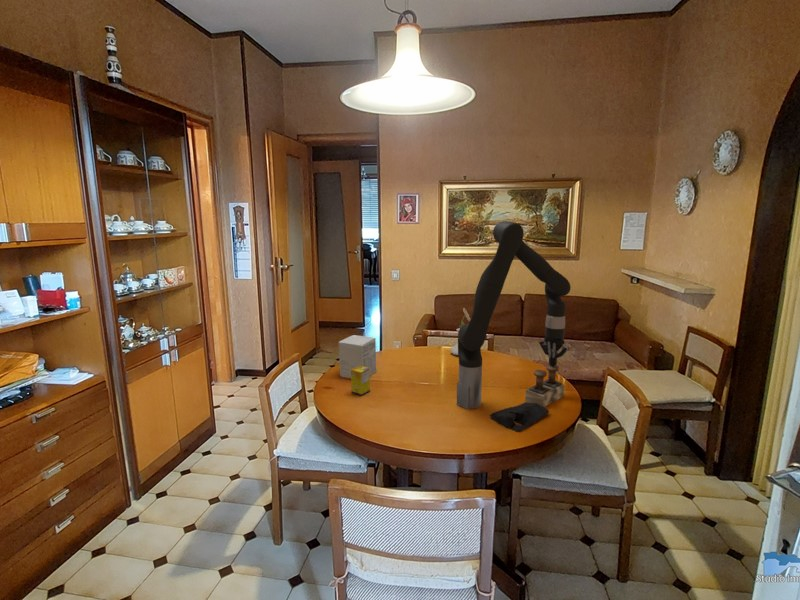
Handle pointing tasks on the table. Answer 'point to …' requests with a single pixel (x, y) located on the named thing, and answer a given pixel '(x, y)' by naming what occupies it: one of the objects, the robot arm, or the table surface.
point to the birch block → (545, 393)
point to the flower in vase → (455, 348)
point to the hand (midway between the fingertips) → (552, 365)
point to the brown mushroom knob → (552, 372)
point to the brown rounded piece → (539, 377)
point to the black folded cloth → (519, 415)
